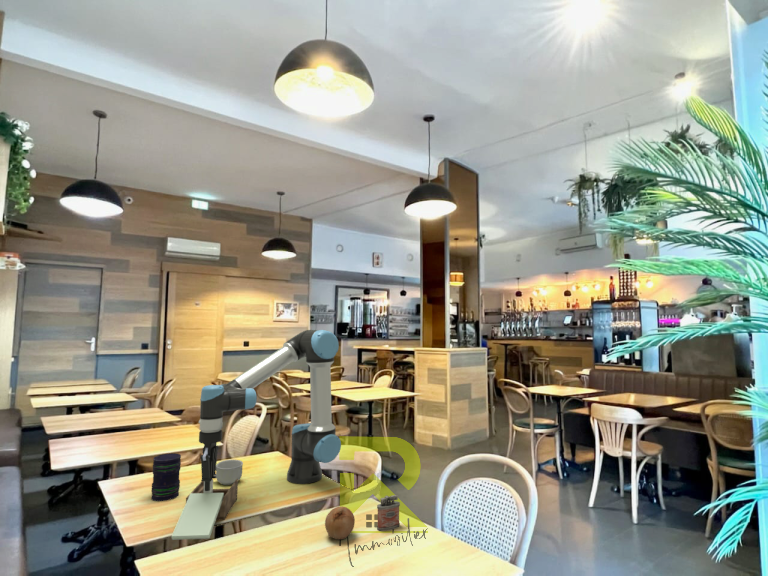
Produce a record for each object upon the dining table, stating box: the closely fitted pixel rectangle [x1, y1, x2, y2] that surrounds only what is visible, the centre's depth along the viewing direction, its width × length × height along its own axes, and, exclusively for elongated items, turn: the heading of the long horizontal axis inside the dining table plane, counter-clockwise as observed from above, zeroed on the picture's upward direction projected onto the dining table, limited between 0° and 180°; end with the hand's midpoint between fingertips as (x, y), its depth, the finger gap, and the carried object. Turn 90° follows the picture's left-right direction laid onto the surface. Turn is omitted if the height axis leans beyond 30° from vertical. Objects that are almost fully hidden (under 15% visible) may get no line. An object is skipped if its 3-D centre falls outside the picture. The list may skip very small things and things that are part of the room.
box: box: [185, 479, 239, 521], centre depth 158 cm, size 18×13×8 cm
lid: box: [171, 492, 224, 541], centre depth 143 cm, size 17×11×2 cm, turn 5°
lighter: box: [376, 494, 401, 532], centre depth 145 cm, size 8×3×10 cm, turn 115°
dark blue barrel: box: [151, 452, 182, 502], centre depth 170 cm, size 10×10×15 cm
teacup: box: [214, 459, 244, 486], centre depth 185 cm, size 14×11×8 cm
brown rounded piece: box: [324, 506, 356, 541], centre depth 138 cm, size 10×9×10 cm
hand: (207, 499), depth 152 cm, fingers closed
